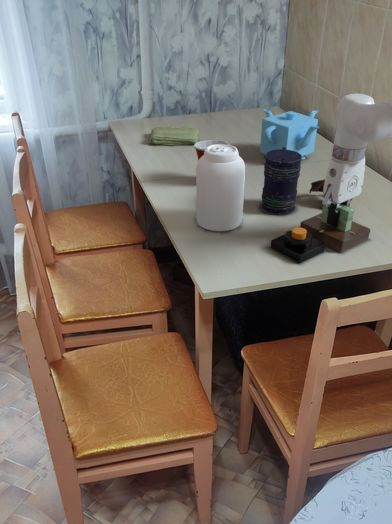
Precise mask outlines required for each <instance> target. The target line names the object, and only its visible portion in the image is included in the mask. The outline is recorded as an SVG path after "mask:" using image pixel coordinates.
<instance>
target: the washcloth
mask: <svg viewBox="0 0 392 524" xmlns="http://www.w3.org/2000/svg"><path fill="white" fill-rule="evenodd" d="M150 133H151V135H150V137H149V143H150V144H152V145H159V146H160V145H162V146H163V145H164V146H189V145H190V146H191V145H194V144H195V143H197V142H199V141H198V140H199V137H200V135H199V128H197V127H191V126H190V127H189V126H174V127H173V126H172V127H171V126H156V127H153V128H151V132H150Z"/></svg>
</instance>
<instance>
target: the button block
mask: <svg viewBox="0 0 392 524" xmlns="http://www.w3.org/2000/svg"><path fill="white" fill-rule="evenodd" d="M291 235H292V229H290V230H288V231H286V233H284V234H282V235H279V236H277V237H275V238H272V239H271V240H270V245H269V248H270V249H272V250H274V251H275V252H277V253H279V254H281V255H283V256H285V257H286V258H289V259H290V260H292V261H294V262H296V263H298V264H302V263H303V262H307V261H309V260H310V259H313V258H315V257H316V256H318V255H321V254H323V253H324V252H325V248H326V245H325V244H324V243H322V242H320V241H318V240H316V239H314V238H312V235H311V233H309V232H307V234H306V238H305V239H303V240H298V239H294V238H292V237H291Z"/></svg>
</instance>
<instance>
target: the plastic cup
mask: <svg viewBox="0 0 392 524" xmlns="http://www.w3.org/2000/svg"><path fill="white" fill-rule="evenodd" d="M215 144H227V145H231V143H230V142H228V141H225V140H220V139H209V140H208V139H205V140H200V141H197V143H195V144H193V148H194V150H195V152H196V156H197V162H198V161H199V159H200V158H201V157H202V156H203V155H204V151H205V149H206V147H208V146H210V145H215Z"/></svg>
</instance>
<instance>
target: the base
mask: <svg viewBox="0 0 392 524" xmlns="http://www.w3.org/2000/svg"><path fill="white" fill-rule="evenodd" d="M321 216H322V212H321V213H318V214H316V215H313V216H312V217H309V218H307V219H304V220H303V221H300V224H299V227H300V228H304V229H306V230H307V232H309V233H311V235H312V238H314V239H316V240H318V241H320V242H322V243H324V244H325V247H329V248H331V249H333V250H335V251H337V252H339V253H343V252H346V251H347V250H350V249H351V248H354V247H356V246H358V245H359V244H362V243H364V242H366V241H368V240H369V237H370V234H371V228H369V227H367V226H365V225H362V224H360V223H358V222H355V221H353V220H352V224H351V229H350V230H348V231H346V232H344V231H342V230H340V229H337V228H335V227H333V226H331V225H329V224H326V223H324V222H322V221H321Z"/></svg>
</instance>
